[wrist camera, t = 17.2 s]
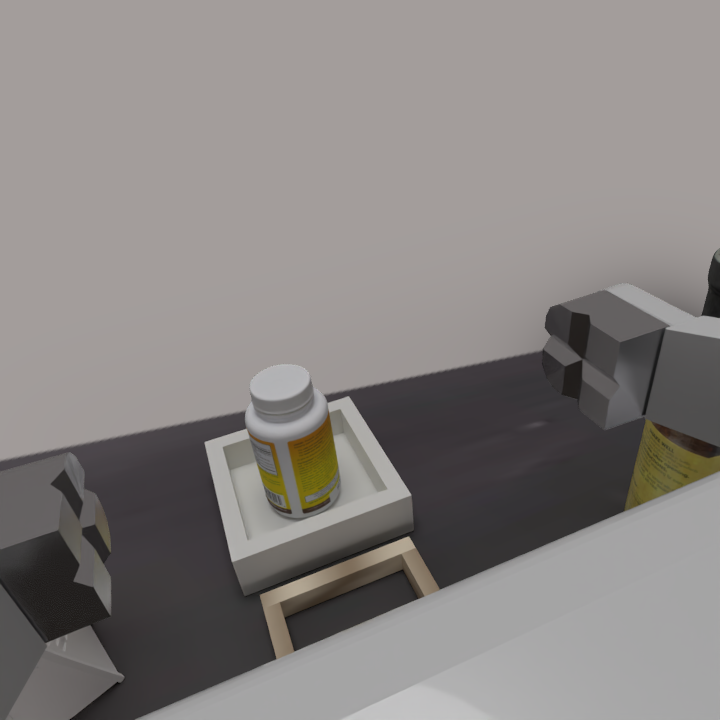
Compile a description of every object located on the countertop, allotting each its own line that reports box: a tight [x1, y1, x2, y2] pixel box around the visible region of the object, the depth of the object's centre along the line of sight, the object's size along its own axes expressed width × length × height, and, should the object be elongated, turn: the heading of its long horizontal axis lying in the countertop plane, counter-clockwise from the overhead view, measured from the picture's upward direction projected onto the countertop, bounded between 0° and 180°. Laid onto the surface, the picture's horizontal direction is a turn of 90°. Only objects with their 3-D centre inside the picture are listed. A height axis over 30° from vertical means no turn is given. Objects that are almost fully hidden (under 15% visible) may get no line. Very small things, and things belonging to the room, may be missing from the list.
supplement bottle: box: [245, 364, 341, 518], centre depth 39 cm, size 6×6×10 cm
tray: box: [205, 397, 414, 597], centre depth 41 cm, size 12×12×4 cm
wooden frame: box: [260, 536, 440, 659], centre depth 32 cm, size 10×10×2 cm
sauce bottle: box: [624, 249, 720, 511], centre depth 30 cm, size 7×6×20 cm
